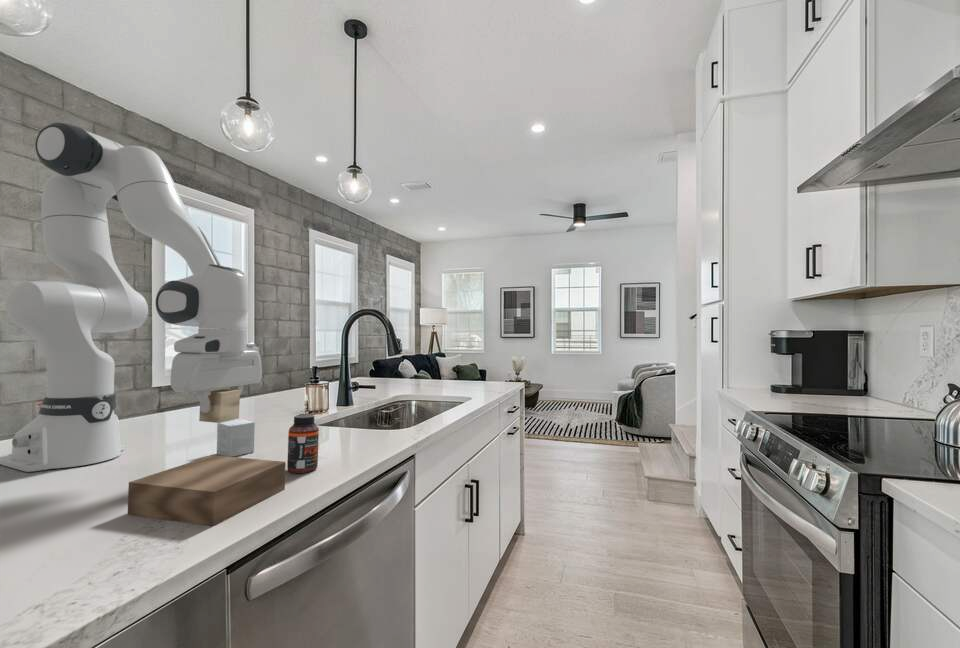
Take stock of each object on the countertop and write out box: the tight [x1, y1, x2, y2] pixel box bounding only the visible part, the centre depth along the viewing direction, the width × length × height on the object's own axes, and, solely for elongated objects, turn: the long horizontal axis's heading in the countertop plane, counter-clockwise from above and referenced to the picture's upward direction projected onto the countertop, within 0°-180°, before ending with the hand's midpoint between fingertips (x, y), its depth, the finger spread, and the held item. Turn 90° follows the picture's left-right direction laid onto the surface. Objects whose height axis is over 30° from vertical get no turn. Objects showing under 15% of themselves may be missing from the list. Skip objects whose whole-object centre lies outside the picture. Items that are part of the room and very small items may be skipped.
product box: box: [216, 418, 256, 457], centre depth 104 cm, size 6×6×7 cm
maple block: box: [198, 388, 241, 424], centre depth 91 cm, size 5×5×6 cm
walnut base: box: [127, 454, 286, 527], centre depth 74 cm, size 16×16×5 cm
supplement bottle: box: [286, 413, 320, 474], centre depth 92 cm, size 6×6×11 cm
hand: (219, 409), depth 91 cm, fingers closed on maple block, 5 cm apart
